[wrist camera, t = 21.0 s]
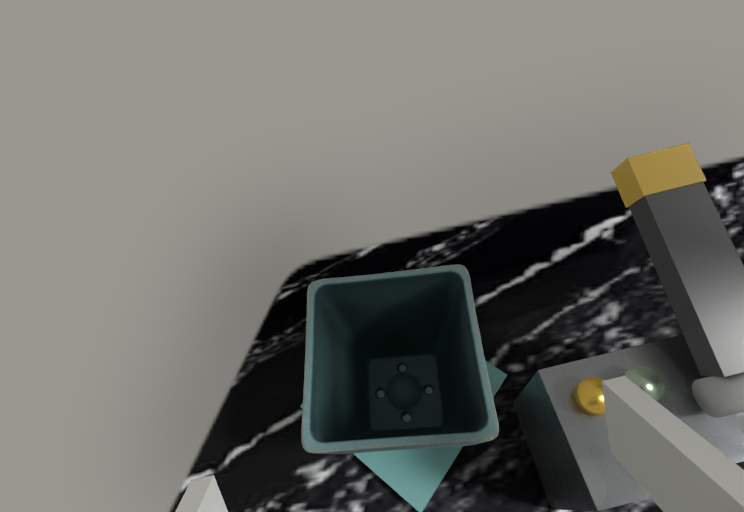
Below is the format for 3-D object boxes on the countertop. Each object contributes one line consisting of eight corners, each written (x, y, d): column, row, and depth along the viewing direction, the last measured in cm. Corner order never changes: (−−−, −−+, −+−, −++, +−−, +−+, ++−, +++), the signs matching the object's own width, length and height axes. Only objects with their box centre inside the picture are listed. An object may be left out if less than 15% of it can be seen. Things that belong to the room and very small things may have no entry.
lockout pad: (505, 377, 28) (507, 374, 27) (421, 513, 25) (420, 513, 24) (388, 300, 32) (387, 296, 32) (302, 408, 29) (299, 406, 28)
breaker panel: (737, 464, 24) (874, 445, 16) (551, 509, 24) (604, 511, 16) (674, 360, 27) (765, 306, 20) (511, 400, 27) (539, 361, 20)
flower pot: (338, 335, 30) (306, 278, 23) (459, 324, 30) (467, 261, 22) (339, 468, 26) (299, 453, 18) (482, 459, 25) (502, 439, 18)
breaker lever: (825, 396, 17) (698, 140, 20) (729, 420, 17) (617, 160, 20) (789, 394, 18) (677, 156, 21) (701, 415, 18) (601, 174, 21)
